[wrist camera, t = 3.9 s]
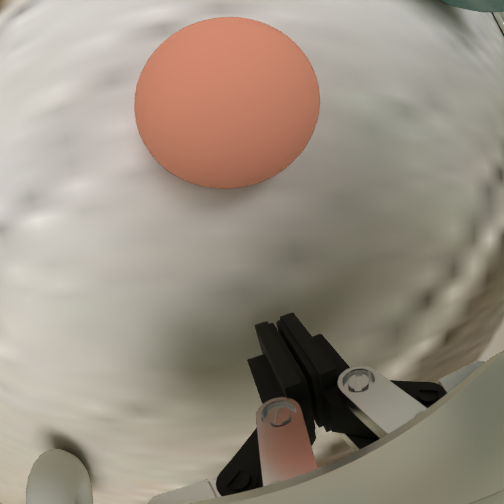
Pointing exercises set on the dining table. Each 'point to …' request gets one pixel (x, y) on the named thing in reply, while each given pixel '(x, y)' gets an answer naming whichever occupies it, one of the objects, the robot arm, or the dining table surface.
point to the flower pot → (478, 5)
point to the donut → (58, 480)
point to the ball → (227, 102)
